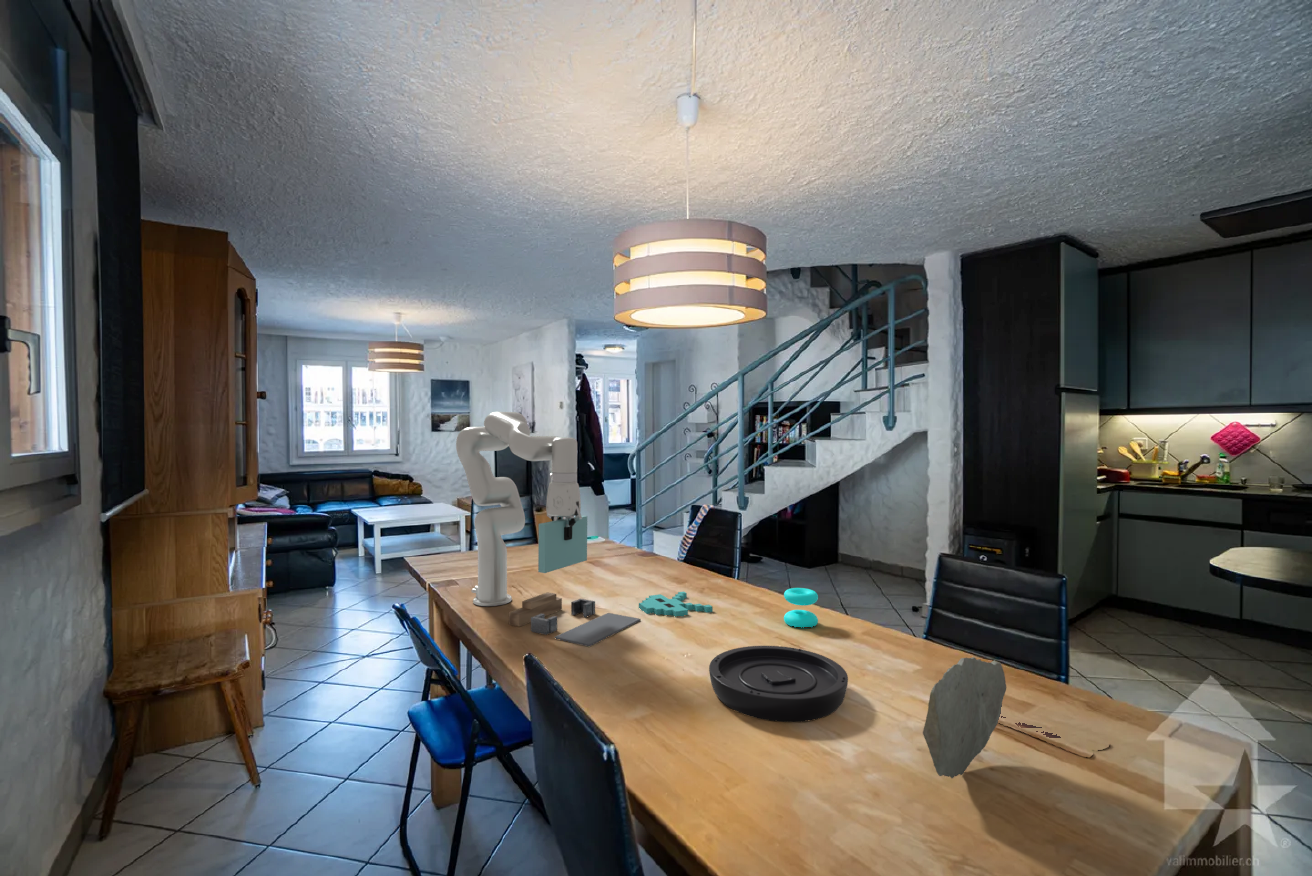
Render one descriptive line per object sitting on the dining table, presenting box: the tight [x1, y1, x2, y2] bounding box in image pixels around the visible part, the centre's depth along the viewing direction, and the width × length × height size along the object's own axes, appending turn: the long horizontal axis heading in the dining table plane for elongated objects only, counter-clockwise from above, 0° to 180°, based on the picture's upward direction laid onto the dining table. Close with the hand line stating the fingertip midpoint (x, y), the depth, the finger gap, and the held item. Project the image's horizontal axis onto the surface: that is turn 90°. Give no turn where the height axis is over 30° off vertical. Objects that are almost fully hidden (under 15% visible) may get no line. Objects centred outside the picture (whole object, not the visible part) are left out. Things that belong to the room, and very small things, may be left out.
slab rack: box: [530, 598, 596, 636], centre depth 185 cm, size 6×23×4 cm, turn 150°
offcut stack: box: [508, 591, 563, 627], centre depth 190 cm, size 4×20×6 cm, turn 150°
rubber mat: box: [554, 612, 641, 647], centre depth 178 cm, size 12×26×1 cm, turn 150°
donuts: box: [783, 587, 819, 629], centre depth 184 cm, size 10×10×10 cm
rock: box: [922, 656, 1007, 779], centre depth 104 cm, size 27×6×20 cm, turn 135°
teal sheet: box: [537, 515, 588, 574], centre depth 185 cm, size 2×20×14 cm, turn 150°
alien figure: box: [638, 591, 714, 618], centre depth 201 cm, size 20×2×20 cm
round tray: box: [708, 645, 849, 723], centre depth 136 cm, size 30×6×30 cm
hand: (563, 538), depth 185 cm, fingers closed on teal sheet, 2 cm apart
